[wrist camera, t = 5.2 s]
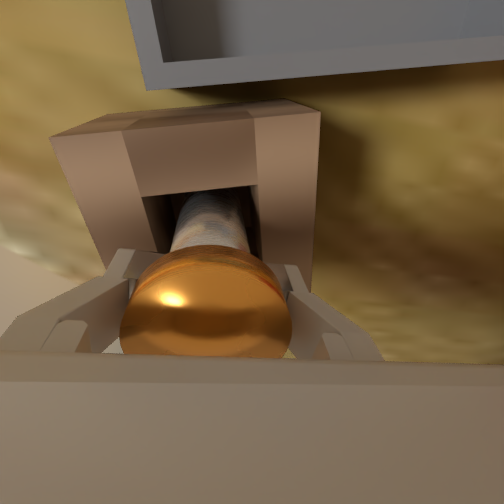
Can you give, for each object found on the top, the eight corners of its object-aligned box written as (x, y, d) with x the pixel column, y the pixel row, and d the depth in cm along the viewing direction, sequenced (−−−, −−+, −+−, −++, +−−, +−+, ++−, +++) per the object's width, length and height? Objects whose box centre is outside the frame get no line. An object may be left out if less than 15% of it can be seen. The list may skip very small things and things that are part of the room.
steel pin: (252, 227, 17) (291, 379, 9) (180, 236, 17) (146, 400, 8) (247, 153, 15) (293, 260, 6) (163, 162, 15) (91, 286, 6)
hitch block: (285, 245, 20) (309, 305, 15) (153, 261, 19) (132, 329, 14) (283, 98, 15) (320, 111, 10) (106, 114, 14) (48, 137, 9)
